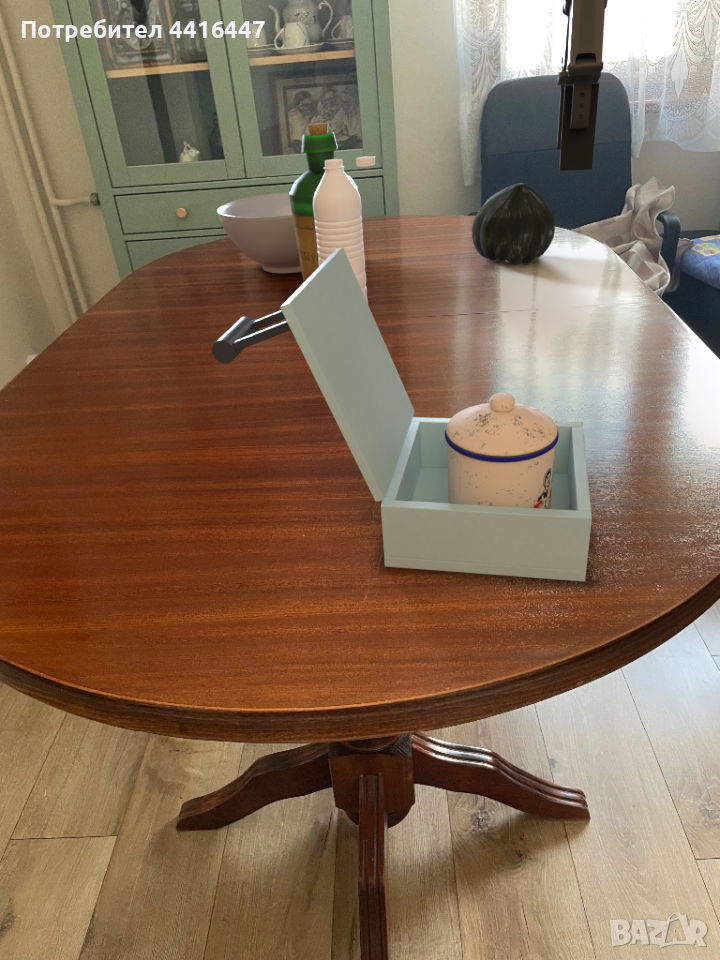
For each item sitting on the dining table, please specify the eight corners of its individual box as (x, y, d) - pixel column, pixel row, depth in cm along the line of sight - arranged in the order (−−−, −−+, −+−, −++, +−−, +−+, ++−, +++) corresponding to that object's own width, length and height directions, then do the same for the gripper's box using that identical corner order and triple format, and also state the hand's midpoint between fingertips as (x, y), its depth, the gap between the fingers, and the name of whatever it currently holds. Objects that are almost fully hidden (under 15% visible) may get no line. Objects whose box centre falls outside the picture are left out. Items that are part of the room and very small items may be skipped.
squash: (491, 218, 147) (478, 167, 134) (565, 223, 141) (560, 170, 128) (472, 279, 144) (457, 233, 131) (547, 287, 138) (539, 239, 125)
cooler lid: (342, 246, 63) (245, 288, 67) (289, 303, 50) (171, 351, 54) (414, 411, 70) (322, 440, 74) (384, 500, 57) (273, 529, 61)
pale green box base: (577, 477, 70) (582, 421, 67) (585, 581, 57) (592, 518, 54) (413, 470, 74) (411, 416, 71) (384, 566, 60) (380, 506, 57)
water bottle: (322, 350, 105) (303, 163, 92) (331, 335, 110) (314, 156, 97) (381, 350, 103) (371, 160, 90) (388, 334, 109) (378, 153, 96)
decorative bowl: (201, 270, 150) (190, 209, 144) (303, 243, 164) (297, 186, 158) (279, 292, 132) (270, 223, 126) (385, 259, 147) (382, 196, 141)
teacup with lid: (558, 550, 59) (569, 421, 53) (445, 550, 60) (443, 423, 54) (542, 475, 69) (550, 360, 63) (446, 476, 70) (445, 362, 64)
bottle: (299, 305, 125) (278, 124, 110) (360, 297, 126) (347, 118, 112) (306, 324, 115) (284, 130, 101) (371, 315, 117) (359, 123, 102)
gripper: (545, -101, 69) (533, 143, 80) (545, -159, 48) (529, 182, 59) (628, -112, 67) (605, 139, 78) (665, -176, 47) (627, 178, 57)
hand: (572, 158), depth 69 cm, fingers open, 13 cm apart
